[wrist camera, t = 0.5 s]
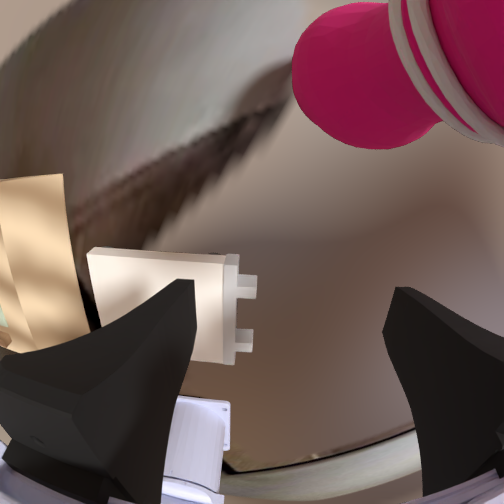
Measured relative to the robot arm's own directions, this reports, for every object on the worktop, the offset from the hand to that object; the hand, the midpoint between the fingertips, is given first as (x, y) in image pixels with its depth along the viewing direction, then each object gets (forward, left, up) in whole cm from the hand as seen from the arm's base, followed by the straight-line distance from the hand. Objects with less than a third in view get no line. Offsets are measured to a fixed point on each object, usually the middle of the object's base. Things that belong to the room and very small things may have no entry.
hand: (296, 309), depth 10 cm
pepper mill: (+9, -3, -10) cm, 14 cm away
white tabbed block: (-6, +8, -10) cm, 14 cm away
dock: (-6, +25, -11) cm, 28 cm away
